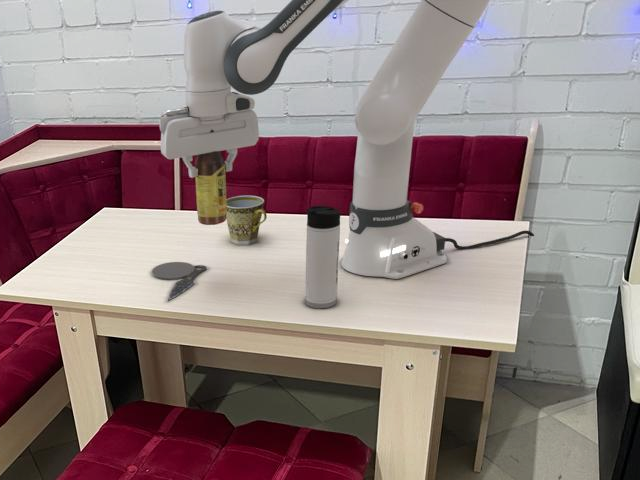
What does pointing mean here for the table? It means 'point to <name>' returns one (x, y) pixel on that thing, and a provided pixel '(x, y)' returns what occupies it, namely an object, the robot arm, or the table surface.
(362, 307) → the table surface
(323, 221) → the travel mug
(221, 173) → the sauce bottle
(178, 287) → the throwing knife
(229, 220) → the ceramic cup
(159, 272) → the round mirror
